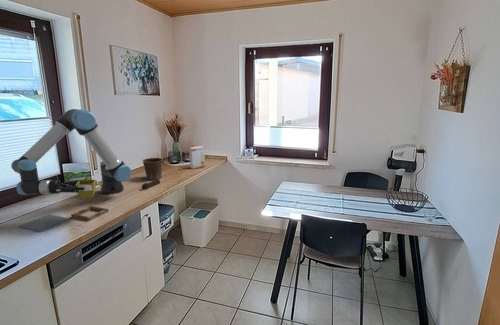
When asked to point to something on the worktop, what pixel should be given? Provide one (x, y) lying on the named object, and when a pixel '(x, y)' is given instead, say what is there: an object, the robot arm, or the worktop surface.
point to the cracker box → (197, 157)
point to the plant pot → (153, 168)
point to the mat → (44, 223)
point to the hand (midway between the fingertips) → (94, 185)
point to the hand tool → (150, 184)
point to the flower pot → (87, 193)
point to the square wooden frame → (78, 216)
